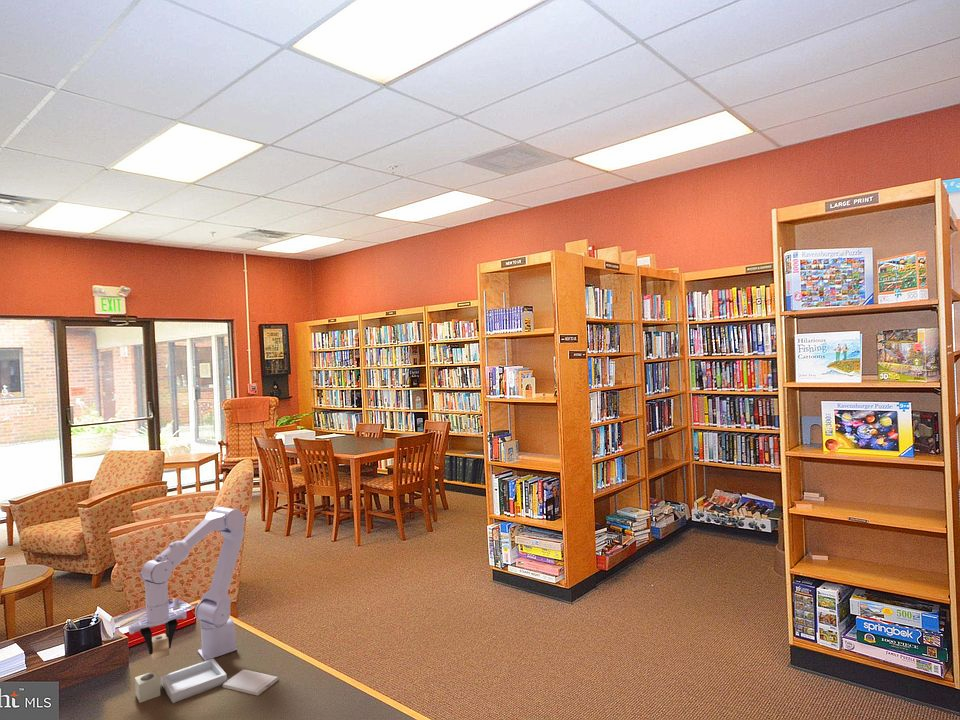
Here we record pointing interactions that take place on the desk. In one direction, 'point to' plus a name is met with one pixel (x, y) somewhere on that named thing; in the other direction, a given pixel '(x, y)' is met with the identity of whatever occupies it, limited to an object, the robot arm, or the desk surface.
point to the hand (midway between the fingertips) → (159, 650)
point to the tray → (193, 680)
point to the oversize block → (147, 686)
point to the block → (160, 646)
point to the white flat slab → (250, 682)
